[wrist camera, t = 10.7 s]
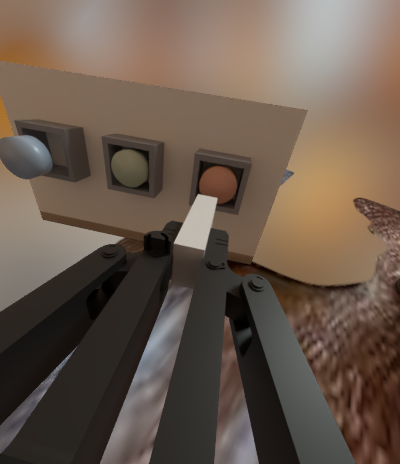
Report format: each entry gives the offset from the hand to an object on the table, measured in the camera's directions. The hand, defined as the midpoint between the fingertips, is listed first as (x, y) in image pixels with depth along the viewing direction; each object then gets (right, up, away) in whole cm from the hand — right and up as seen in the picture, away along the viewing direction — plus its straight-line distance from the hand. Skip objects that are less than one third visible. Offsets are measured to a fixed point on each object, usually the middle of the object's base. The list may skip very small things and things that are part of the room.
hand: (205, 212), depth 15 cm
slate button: (-19, +5, +6) cm, 20 cm away
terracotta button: (+1, +2, +8) cm, 8 cm away
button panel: (-9, -2, +17) cm, 20 cm away
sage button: (-8, +4, +8) cm, 12 cm away
